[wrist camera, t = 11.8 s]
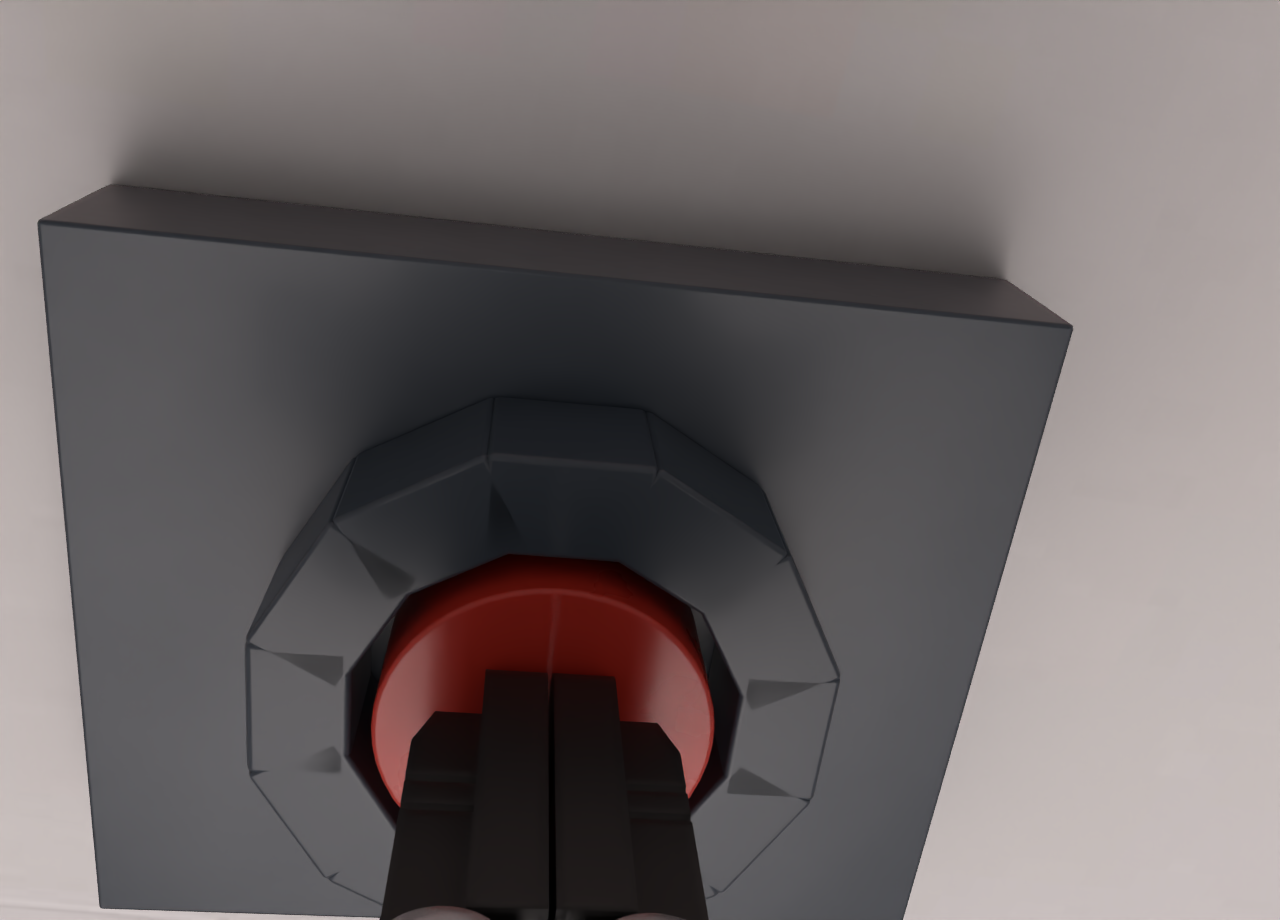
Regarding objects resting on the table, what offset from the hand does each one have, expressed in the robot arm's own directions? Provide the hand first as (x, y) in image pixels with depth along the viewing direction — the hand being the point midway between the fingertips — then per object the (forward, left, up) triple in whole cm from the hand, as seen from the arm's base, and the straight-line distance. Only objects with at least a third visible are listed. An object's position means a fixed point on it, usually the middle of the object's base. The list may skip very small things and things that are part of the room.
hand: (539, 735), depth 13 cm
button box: (0, 0, -4) cm, 4 cm away
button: (0, 0, -2) cm, 2 cm away
